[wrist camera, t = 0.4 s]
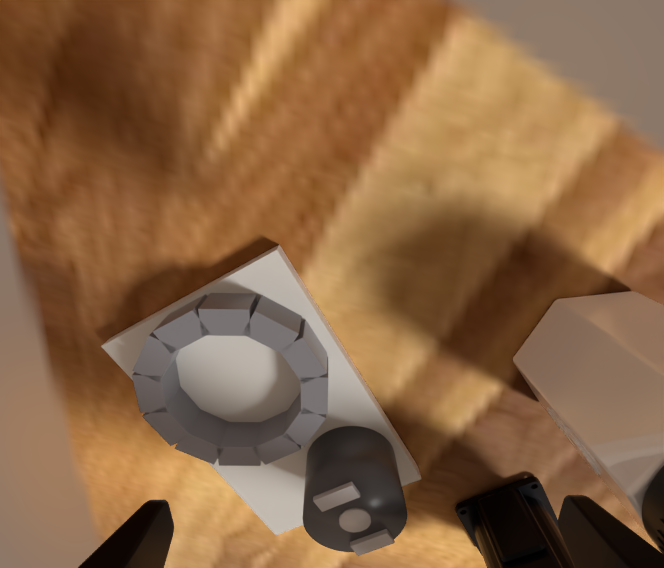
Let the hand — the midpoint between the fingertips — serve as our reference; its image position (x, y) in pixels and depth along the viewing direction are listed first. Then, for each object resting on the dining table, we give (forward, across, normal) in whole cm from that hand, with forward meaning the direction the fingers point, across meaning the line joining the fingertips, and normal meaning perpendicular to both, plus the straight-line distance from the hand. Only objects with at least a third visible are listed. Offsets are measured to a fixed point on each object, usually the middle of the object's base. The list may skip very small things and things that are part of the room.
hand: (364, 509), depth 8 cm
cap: (+12, 0, +12) cm, 17 cm away
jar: (+14, -15, +4) cm, 21 cm away
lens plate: (+13, +5, +8) cm, 16 cm away
